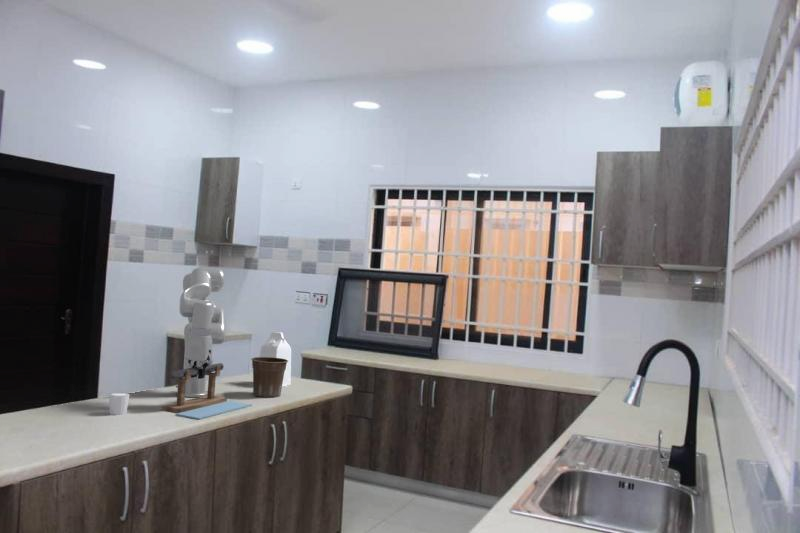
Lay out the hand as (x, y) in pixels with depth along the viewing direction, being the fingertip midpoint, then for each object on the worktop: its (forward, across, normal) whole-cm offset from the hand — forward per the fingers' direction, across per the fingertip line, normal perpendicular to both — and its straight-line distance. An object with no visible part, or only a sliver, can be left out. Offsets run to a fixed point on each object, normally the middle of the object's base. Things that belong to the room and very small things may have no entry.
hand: (197, 377), depth 254 cm
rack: (+11, 0, 0) cm, 11 cm away
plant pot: (+12, +9, +37) cm, 40 cm away
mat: (+11, +12, -2) cm, 16 cm away
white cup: (+11, -12, -28) cm, 33 cm away
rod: (-1, 0, 0) cm, 1 cm away
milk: (+12, -3, +60) cm, 61 cm away
